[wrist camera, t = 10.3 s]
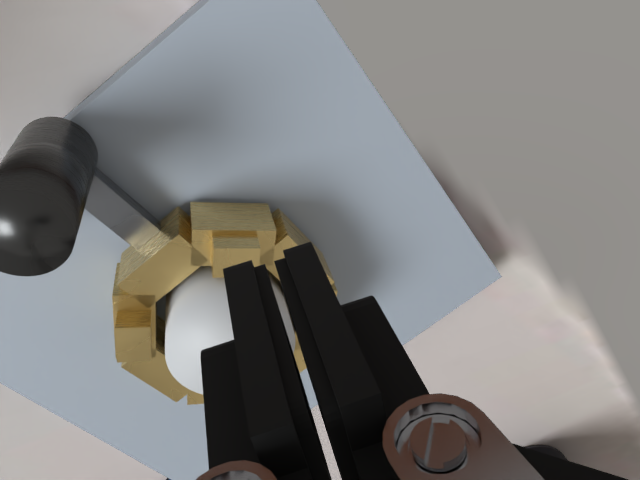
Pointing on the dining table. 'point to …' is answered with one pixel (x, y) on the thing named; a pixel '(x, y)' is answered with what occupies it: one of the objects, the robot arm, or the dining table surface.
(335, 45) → the pale blue slab
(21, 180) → the segmented octagonal ring
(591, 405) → the dining table surface
